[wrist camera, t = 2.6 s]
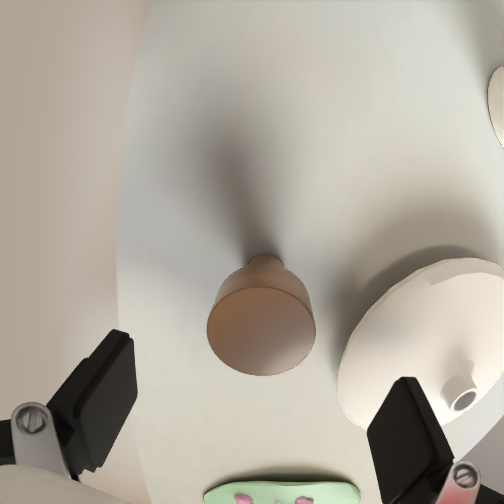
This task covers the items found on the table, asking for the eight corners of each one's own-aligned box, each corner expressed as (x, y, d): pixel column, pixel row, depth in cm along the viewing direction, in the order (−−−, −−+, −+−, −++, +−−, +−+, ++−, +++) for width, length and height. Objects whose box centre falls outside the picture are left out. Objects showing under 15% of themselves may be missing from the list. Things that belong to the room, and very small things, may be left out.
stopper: (213, 262, 19) (184, 321, 13) (275, 221, 18) (275, 264, 11) (256, 316, 20) (248, 389, 14) (316, 280, 19) (334, 346, 12)
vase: (389, 209, 17) (446, 243, 11) (525, 277, 18) (575, 314, 11) (297, 396, 22) (301, 468, 16) (437, 415, 23) (461, 466, 16)
